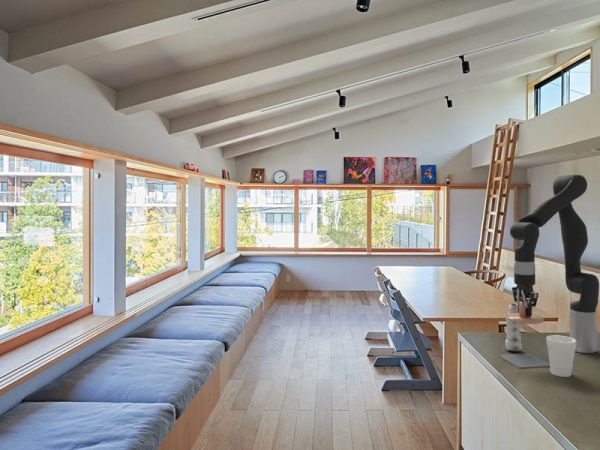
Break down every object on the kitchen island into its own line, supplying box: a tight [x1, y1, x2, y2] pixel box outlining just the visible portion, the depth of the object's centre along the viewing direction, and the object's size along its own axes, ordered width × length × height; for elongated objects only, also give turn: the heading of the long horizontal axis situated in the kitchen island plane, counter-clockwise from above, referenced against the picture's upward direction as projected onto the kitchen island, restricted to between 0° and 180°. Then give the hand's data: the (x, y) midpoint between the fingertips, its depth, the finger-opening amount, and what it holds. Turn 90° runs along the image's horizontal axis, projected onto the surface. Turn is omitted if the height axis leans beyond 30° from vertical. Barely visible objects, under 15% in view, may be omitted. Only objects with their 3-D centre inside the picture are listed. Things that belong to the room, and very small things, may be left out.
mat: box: [497, 352, 550, 369], centre depth 174 cm, size 14×14×1 cm
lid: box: [507, 301, 544, 325], centre depth 173 cm, size 13×13×7 cm
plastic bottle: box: [504, 303, 523, 352], centre depth 185 cm, size 6×7×20 cm
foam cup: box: [545, 334, 576, 378], centre depth 160 cm, size 10×9×13 cm
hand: (524, 314), depth 173 cm, fingers closed on lid, 4 cm apart
